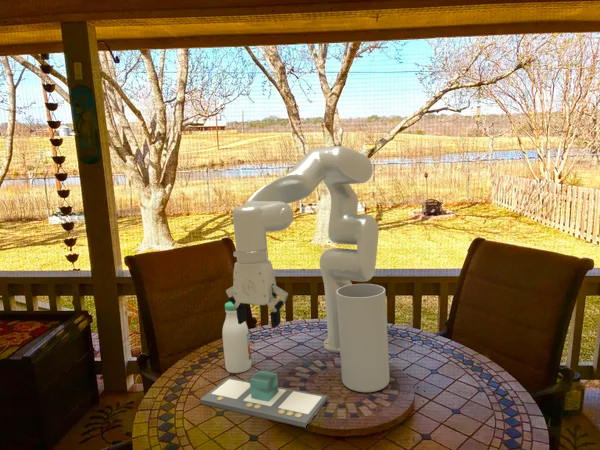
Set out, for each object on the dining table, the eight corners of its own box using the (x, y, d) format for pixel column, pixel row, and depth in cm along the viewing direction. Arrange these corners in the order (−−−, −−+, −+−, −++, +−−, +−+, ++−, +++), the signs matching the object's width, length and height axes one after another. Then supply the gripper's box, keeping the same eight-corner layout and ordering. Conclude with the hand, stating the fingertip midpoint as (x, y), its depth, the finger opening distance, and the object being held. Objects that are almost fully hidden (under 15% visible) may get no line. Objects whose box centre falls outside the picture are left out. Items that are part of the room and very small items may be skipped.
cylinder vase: (361, 366, 124) (356, 281, 121) (399, 379, 115) (394, 288, 112) (332, 383, 115) (326, 292, 112) (370, 399, 106) (365, 300, 103)
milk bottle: (247, 374, 124) (240, 307, 122) (221, 373, 126) (214, 307, 123) (255, 362, 132) (249, 298, 129) (231, 361, 133) (224, 299, 131)
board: (228, 381, 121) (227, 376, 121) (327, 400, 107) (327, 394, 107) (200, 403, 110) (199, 398, 110) (306, 427, 97) (305, 421, 97)
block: (261, 388, 113) (260, 370, 112) (278, 391, 111) (276, 373, 110) (251, 398, 109) (249, 379, 108) (268, 401, 106) (266, 382, 106)
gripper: (214, 259, 106) (221, 326, 108) (275, 261, 98) (282, 333, 100) (232, 252, 112) (238, 315, 115) (291, 253, 104) (296, 321, 107)
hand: (259, 323), depth 107 cm, fingers open, 9 cm apart
